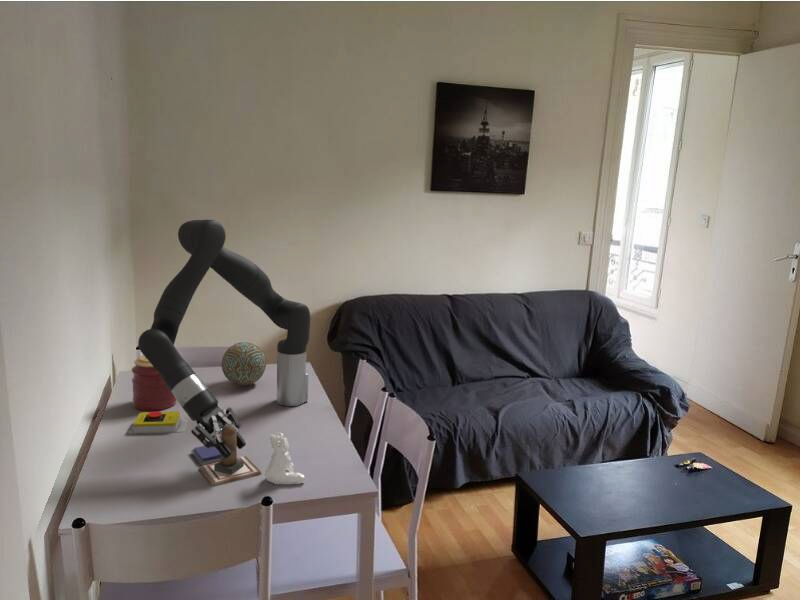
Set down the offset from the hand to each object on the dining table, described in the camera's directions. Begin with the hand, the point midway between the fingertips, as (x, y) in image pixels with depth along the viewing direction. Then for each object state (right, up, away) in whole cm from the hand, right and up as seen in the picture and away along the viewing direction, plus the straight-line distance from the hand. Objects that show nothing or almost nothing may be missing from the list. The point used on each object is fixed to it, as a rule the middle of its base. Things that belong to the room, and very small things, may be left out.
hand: (236, 451), depth 149 cm
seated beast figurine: (+12, -7, -1) cm, 13 cm away
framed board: (-2, -5, +2) cm, 6 cm away
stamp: (-2, -5, +2) cm, 5 cm away
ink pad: (-9, -4, +9) cm, 13 cm away
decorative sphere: (-15, +7, +65) cm, 67 cm away
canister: (-37, +4, +43) cm, 57 cm away
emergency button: (-29, 0, +26) cm, 39 cm away
